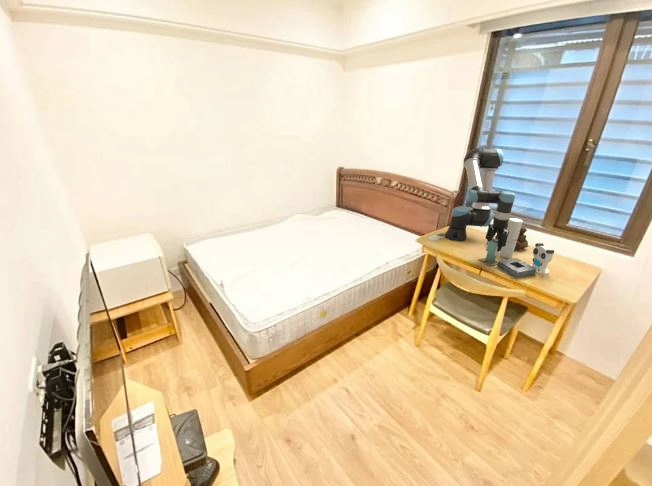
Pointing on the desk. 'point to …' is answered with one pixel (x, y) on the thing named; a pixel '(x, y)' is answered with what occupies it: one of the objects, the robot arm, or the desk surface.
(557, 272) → the desk surface
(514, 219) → the cylindrical container
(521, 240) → the brown lumpy upright piece
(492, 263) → the pad
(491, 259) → the teal cylinder
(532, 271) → the housing
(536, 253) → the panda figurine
